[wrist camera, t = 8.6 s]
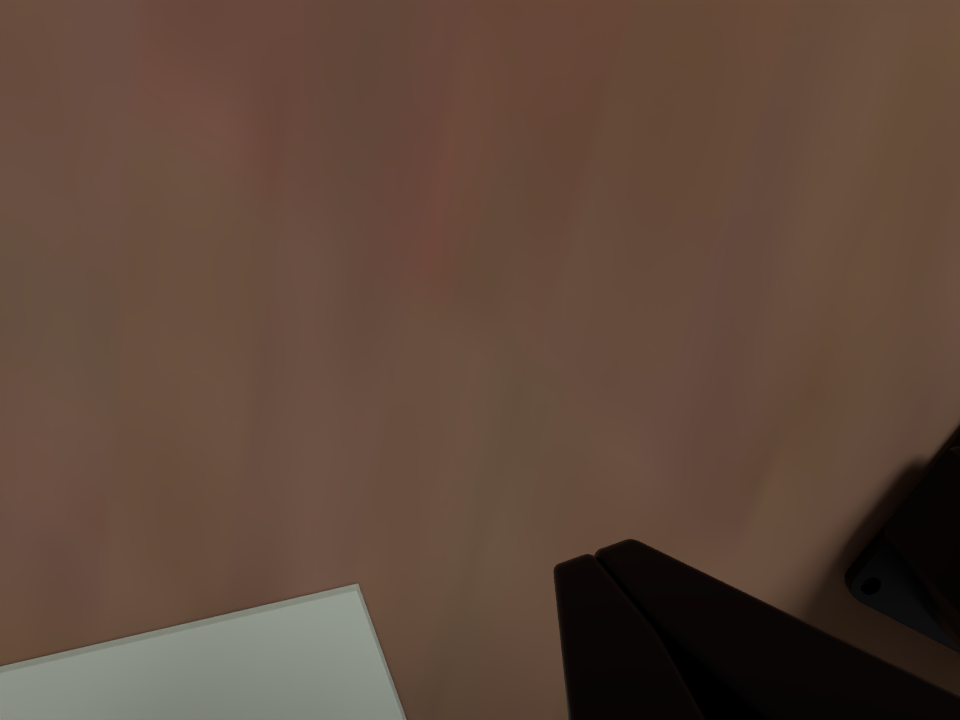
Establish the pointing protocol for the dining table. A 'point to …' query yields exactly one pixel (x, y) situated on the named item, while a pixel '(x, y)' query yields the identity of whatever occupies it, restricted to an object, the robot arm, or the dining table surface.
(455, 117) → the dining table surface
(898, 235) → the dining table surface
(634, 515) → the dining table surface
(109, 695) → the mat
